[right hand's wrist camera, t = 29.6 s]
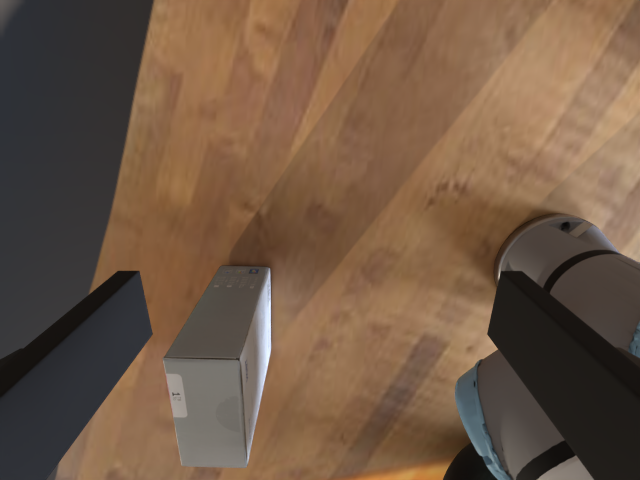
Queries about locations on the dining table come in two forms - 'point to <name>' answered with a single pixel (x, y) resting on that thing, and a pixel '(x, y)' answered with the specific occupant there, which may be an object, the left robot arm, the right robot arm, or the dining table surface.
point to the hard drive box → (221, 368)
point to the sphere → (468, 466)
